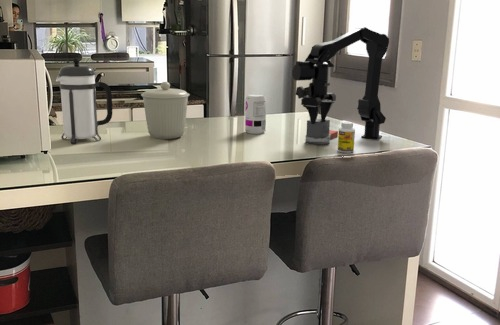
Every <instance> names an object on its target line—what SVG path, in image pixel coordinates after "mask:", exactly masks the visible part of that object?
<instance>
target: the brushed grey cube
mask: <svg viewBox="0 0 500 325" xmlns="http://www.w3.org/2000/svg"><path fill="white" fill-rule="evenodd" d="M330 123H331V119H326V118H325V119H321V118H317V119H316V122H315V124H311V120H310V119H307V120H306V134H305V138H306V137H313V138H321V139H323V138H325V137H327V136H329V130H330Z"/></svg>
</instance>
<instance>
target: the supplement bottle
mask: <svg viewBox="0 0 500 325" xmlns="http://www.w3.org/2000/svg"><path fill="white" fill-rule="evenodd" d="M340 126H341V127H339V128H338V136H337V151H338V152H339V153H344V154H350V153H353V152H354V151H355V150H354V149H355V137H356V130H355V128H354V123H353V122H351V121H342V122H341V124H340Z"/></svg>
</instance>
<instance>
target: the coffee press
mask: <svg viewBox="0 0 500 325" xmlns="http://www.w3.org/2000/svg"><path fill="white" fill-rule="evenodd" d="M72 62H73V64H70V65H69V64H68V65H64V66H62V67H61V68H60V69H59V72H58V73H57V74H58V75H57V77H56V79H55V82H58V83H59V90H60V98H61V100H60V101H61V115H62V125H63V126H62V127H63V129H62V130H63V133H62V135H61V136H60V137H61V140H62V141H64V140H66V139H70V144H71V145H76V144H77V142H78V141H79V140H84V139H94V140H95V141H96V142H99V141H101V140H102V137H101V136H100V134H99V131H98V130H99V129H98V127H99V126H103V125H106V124H108V123H110V121H111V120H112V117H113V97H112V95H113V94H112V90H111V88H110V86H109V84H107V83H105V82H101V81H98V82H96V71H95V69H94V68H93V67H91V66H90V65H86V64H80V62H81V61H80V58H78V57H75V58H73V59H72ZM96 87H99V88H100V87H101V88H103V89H104V91H105V96H106V117H105V118H104V119H101V120H98V113H97V112H98V111H97V96H96V95H97V94H96V92H97V91H96ZM64 136H65V138H64ZM96 136H97V137H98V138H97V137H96Z"/></svg>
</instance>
